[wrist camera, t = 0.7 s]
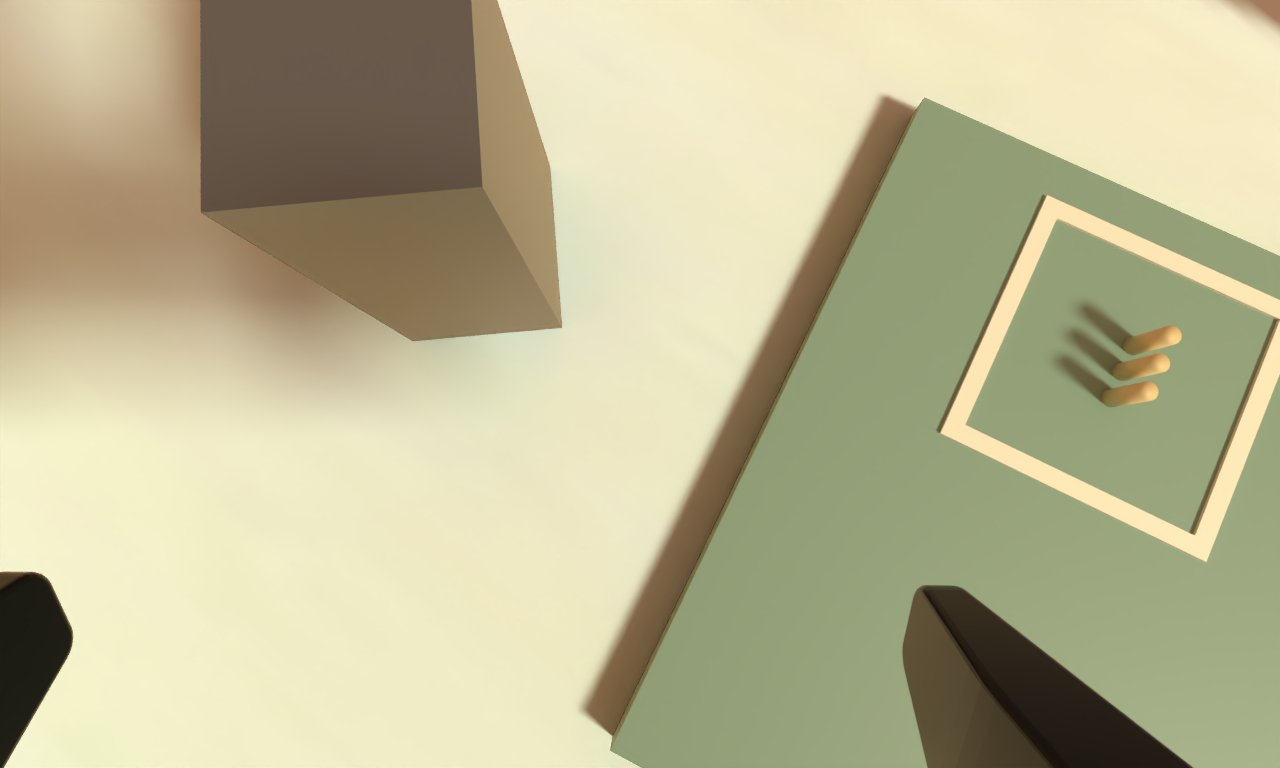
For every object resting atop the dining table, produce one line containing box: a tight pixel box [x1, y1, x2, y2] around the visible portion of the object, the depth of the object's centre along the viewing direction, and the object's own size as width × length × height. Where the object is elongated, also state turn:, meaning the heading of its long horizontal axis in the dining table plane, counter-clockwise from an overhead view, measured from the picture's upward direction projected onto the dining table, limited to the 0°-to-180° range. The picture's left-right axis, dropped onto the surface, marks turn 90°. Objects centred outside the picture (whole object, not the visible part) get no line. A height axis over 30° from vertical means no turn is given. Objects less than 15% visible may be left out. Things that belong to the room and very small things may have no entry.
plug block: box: [201, 0, 562, 341], centre depth 16 cm, size 5×4×10 cm
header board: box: [610, 98, 1280, 768], centre depth 19 cm, size 20×16×2 cm
